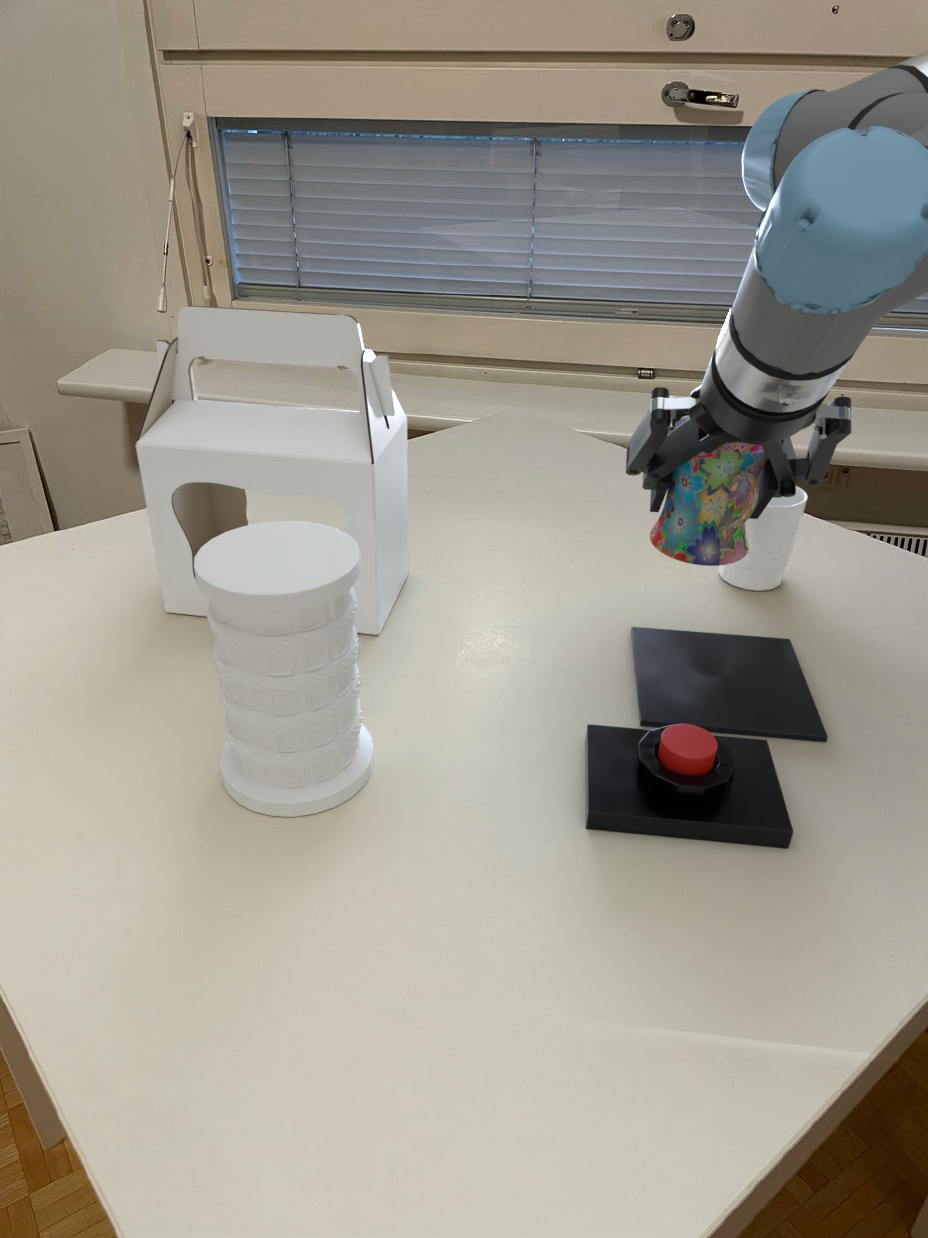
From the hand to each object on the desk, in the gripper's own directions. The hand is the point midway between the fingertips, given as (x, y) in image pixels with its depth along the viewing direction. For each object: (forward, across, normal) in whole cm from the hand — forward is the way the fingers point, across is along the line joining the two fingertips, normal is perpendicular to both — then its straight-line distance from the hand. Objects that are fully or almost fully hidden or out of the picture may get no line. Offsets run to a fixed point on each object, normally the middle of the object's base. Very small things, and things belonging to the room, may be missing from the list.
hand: (703, 500), depth 76 cm
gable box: (+12, -39, -8) cm, 42 cm away
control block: (-5, -2, -26) cm, 26 cm away
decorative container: (-6, -31, -26) cm, 41 cm away
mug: (0, 0, -5) cm, 5 cm away
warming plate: (+6, +3, -15) cm, 16 cm away
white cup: (+21, +9, 0) cm, 22 cm away
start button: (-7, -2, -23) cm, 25 cm away
